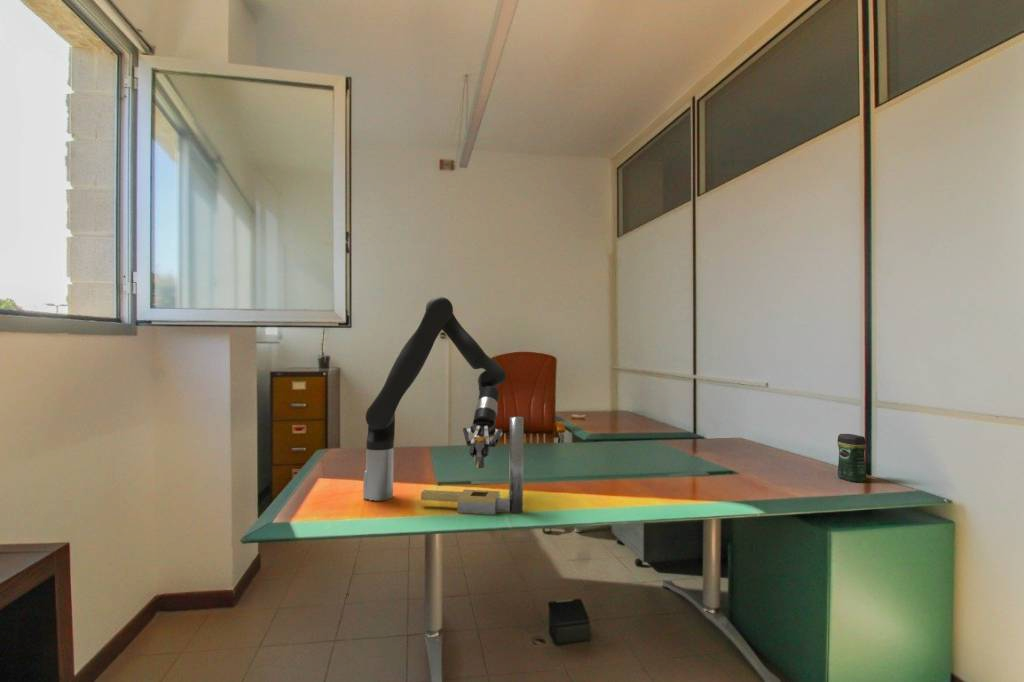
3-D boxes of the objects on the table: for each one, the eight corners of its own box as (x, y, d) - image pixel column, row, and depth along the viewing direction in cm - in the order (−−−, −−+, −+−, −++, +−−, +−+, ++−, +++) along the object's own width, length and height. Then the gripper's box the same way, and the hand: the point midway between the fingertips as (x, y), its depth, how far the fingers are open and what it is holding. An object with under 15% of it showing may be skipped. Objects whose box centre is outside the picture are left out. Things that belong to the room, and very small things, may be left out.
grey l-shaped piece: (418, 510, 162) (419, 416, 162) (426, 502, 171) (427, 413, 171) (520, 516, 157) (521, 419, 158) (524, 507, 166) (525, 416, 167)
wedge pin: (473, 468, 163) (473, 436, 163) (475, 465, 166) (475, 435, 166) (483, 468, 162) (484, 437, 162) (485, 465, 166) (486, 435, 166)
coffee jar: (870, 482, 203) (870, 435, 203) (854, 483, 201) (854, 436, 201) (849, 476, 212) (849, 432, 213) (833, 477, 210) (833, 432, 211)
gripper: (464, 406, 173) (454, 448, 160) (505, 406, 171) (498, 450, 158) (467, 419, 178) (458, 461, 166) (507, 420, 176) (501, 463, 164)
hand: (478, 455), depth 162 cm, fingers closed on wedge pin, 3 cm apart
